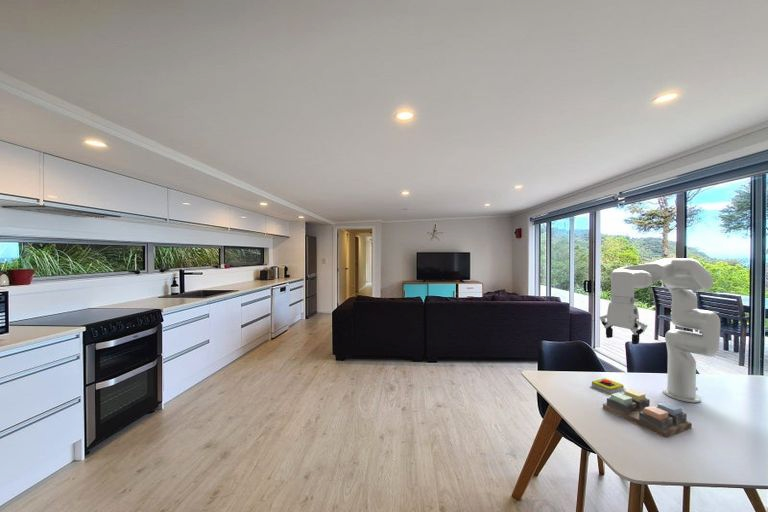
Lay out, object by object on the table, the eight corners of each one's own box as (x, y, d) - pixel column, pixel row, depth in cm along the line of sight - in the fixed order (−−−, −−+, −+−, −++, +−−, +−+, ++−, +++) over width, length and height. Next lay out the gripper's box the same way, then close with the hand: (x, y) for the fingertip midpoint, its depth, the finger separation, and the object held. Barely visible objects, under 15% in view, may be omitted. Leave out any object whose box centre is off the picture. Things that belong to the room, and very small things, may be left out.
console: (627, 401, 134) (627, 390, 134) (691, 428, 114) (691, 415, 114) (602, 408, 128) (602, 396, 128) (666, 437, 108) (666, 424, 108)
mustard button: (631, 396, 132) (631, 389, 132) (645, 402, 127) (645, 394, 127) (624, 398, 130) (624, 390, 130) (637, 404, 125) (638, 396, 125)
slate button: (665, 409, 121) (665, 401, 121) (681, 416, 116) (681, 407, 116) (657, 412, 119) (657, 403, 119) (674, 418, 114) (674, 410, 114)
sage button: (618, 400, 128) (618, 392, 128) (632, 405, 124) (632, 397, 124) (610, 402, 126) (610, 394, 126) (624, 408, 122) (624, 399, 122)
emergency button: (588, 379, 149) (607, 374, 155) (588, 388, 149) (607, 383, 155) (608, 387, 141) (627, 382, 146) (608, 396, 141) (627, 390, 146)
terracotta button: (651, 414, 117) (651, 405, 117) (668, 420, 112) (668, 412, 112) (643, 416, 115) (643, 407, 115) (660, 423, 110) (660, 414, 110)
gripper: (652, 302, 117) (652, 345, 117) (606, 296, 133) (605, 334, 133) (641, 303, 114) (640, 347, 114) (595, 297, 130) (594, 336, 130)
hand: (621, 340), depth 123 cm, fingers open, 9 cm apart
